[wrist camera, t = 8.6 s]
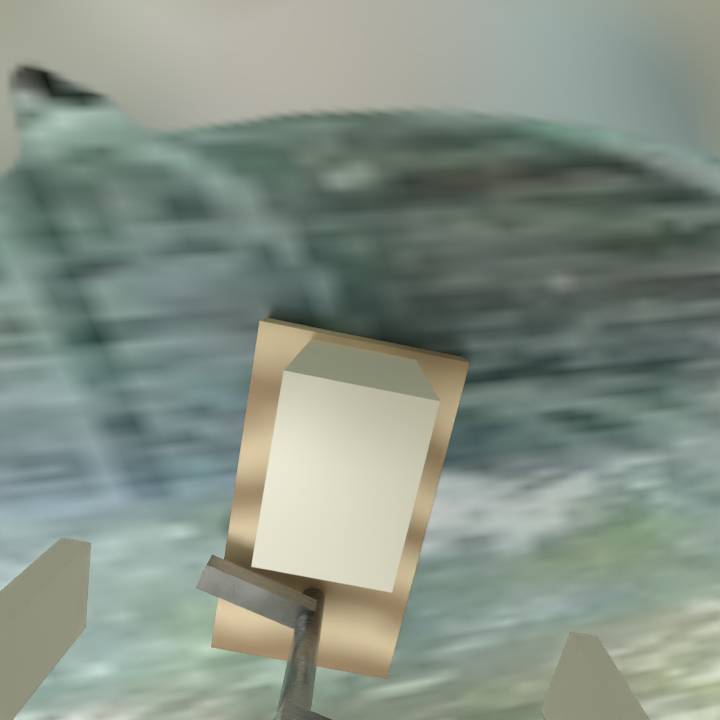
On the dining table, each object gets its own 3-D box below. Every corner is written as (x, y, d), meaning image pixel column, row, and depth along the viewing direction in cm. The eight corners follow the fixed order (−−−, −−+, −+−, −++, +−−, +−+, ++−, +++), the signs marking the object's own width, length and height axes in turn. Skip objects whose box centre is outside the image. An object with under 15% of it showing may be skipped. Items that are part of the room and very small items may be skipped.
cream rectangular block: (375, 532, 29) (379, 642, 20) (280, 514, 29) (242, 617, 20) (415, 359, 27) (440, 401, 18) (311, 338, 26) (283, 370, 18)
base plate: (385, 655, 34) (386, 678, 32) (220, 625, 34) (211, 647, 32) (462, 356, 29) (469, 362, 27) (267, 317, 28) (259, 320, 26)
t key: (358, 565, 29) (351, 796, 16) (311, 647, 31) (271, 918, 18) (233, 510, 29) (123, 706, 16) (192, 597, 30) (60, 841, 17)
